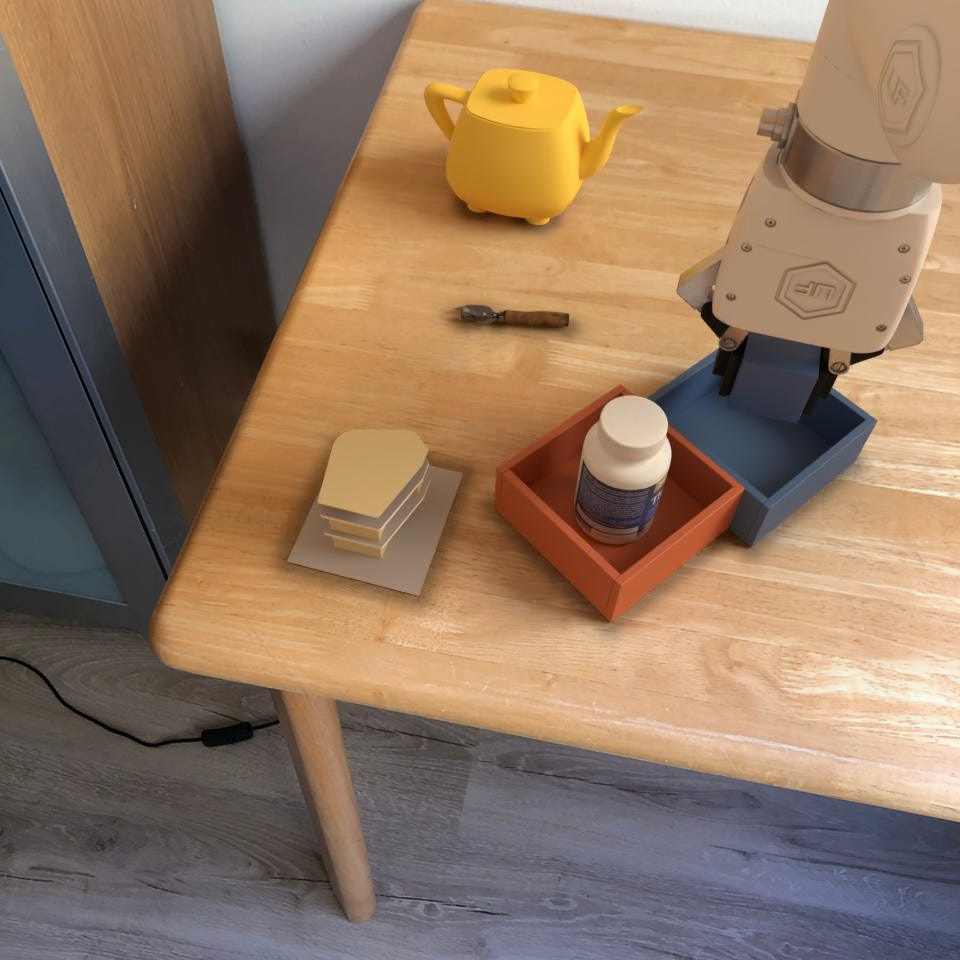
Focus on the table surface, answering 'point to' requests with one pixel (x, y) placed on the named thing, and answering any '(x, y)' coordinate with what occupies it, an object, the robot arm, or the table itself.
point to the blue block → (775, 377)
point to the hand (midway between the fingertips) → (766, 387)
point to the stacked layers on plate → (378, 510)
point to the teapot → (521, 142)
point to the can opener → (515, 316)
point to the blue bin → (764, 446)
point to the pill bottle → (622, 471)
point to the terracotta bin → (600, 566)
